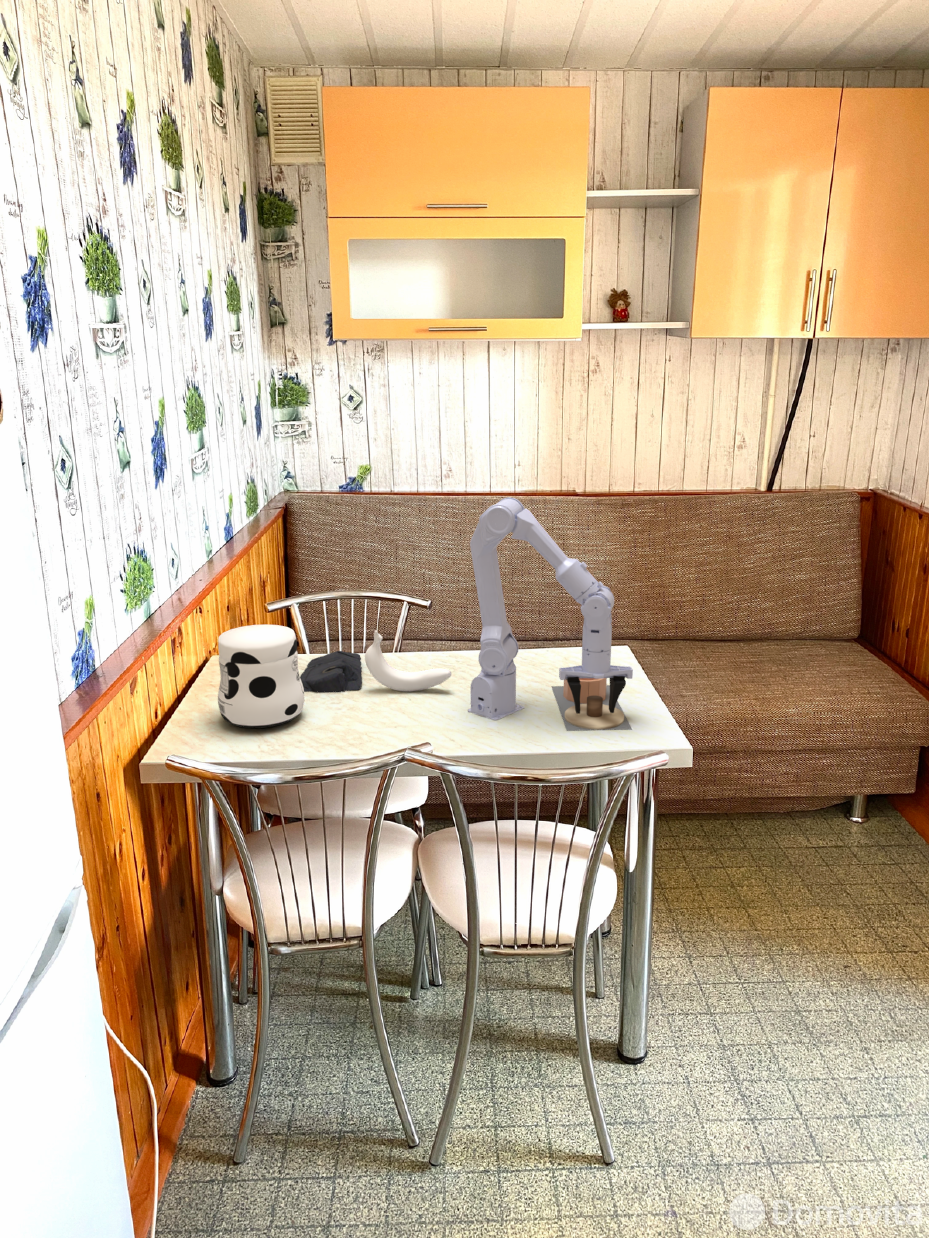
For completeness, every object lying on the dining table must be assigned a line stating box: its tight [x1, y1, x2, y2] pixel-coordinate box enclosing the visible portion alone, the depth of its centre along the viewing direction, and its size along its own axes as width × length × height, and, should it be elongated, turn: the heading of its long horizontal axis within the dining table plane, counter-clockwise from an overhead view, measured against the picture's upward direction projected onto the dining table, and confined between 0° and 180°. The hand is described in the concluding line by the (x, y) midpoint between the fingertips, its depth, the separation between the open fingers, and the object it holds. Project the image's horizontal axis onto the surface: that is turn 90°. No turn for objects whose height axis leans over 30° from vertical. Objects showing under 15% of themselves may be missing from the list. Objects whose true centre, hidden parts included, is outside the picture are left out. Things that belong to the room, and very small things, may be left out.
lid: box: [565, 695, 625, 731], centre depth 188 cm, size 12×12×4 cm
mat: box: [551, 684, 633, 732], centre depth 195 cm, size 25×13×1 cm, turn 2°
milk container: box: [217, 624, 305, 729], centre depth 189 cm, size 17×17×18 cm
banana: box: [364, 630, 452, 692], centre depth 204 cm, size 5×19×15 cm, turn 90°
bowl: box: [563, 678, 608, 704], centre depth 200 cm, size 9×9×5 cm
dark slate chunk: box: [299, 650, 363, 694], centre depth 215 cm, size 15×22×5 cm
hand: (594, 711), depth 189 cm, fingers open, 6 cm apart
